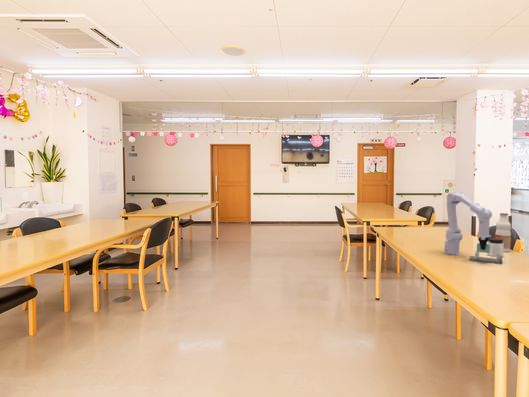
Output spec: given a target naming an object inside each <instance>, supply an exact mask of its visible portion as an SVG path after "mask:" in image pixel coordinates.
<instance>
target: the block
mask: <svg viewBox="0 0 529 397" xmlns="http://www.w3.org/2000/svg"><path fill="white" fill-rule="evenodd" d="M476 251H477V252H479V253H483V254H484V253H486V254H488V253H490V244H488V243H487V244H486V248H485V250H481V247H480V242H478V243H476Z"/></svg>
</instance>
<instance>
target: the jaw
mask: <svg viewBox="0 0 529 397" xmlns="http://www.w3.org/2000/svg"><path fill="white" fill-rule="evenodd" d="M474 256H475V259H479V257H480V252H477V250H476V251H475V253H474Z"/></svg>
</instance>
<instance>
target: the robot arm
mask: <svg viewBox="0 0 529 397" xmlns="http://www.w3.org/2000/svg"><path fill="white" fill-rule="evenodd" d="M461 202H462V203H463V204H465V205H466V206H467V207H469V209H470V211H471V212H473V213H474V214H475V215H476V216H477V218H478V234H477V236H478V239H477V240H478V243H480V247H481V250H485V248H486V244H488V242H489V238H492V235H491V234H490V220H491V218H492V217H493V213H492V211H491V210H490V209H486V208H485V207H482V206H481V205H480V204H479V203H476V202H475V203H474V202H473V201H471V199H469V198H468V197H467V196H466V194H464V193H463V192H449V193H448V194H447V195H446V210H447V211H446V212H447V213H446V214H447V221H448V228H447V230H446V231H445V232H446V233H445V239H446V240H444V254H445V255H453V256H454V255H456V256H460V254H461V252H460V244H461V240H463V233H462V231H461V229H460V228H459V227H458V220H457V219H458V218H457V210H456V206H458V204H460V203H461Z"/></svg>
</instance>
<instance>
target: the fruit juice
mask: <svg viewBox="0 0 529 397" xmlns="http://www.w3.org/2000/svg"><path fill="white" fill-rule="evenodd" d="M508 216H509V214H508V213H507V212H500V213H499V220H498V221H497V222H496V224H495V227H496V230H495V236H494V238H500V239H503V243H504V246H503V253H510V251H511V242H512V241H511V240H512V237H511V236H512V233H511V232H512V231H511V227H512V224H511V222H510V221H509V218H508Z"/></svg>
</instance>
